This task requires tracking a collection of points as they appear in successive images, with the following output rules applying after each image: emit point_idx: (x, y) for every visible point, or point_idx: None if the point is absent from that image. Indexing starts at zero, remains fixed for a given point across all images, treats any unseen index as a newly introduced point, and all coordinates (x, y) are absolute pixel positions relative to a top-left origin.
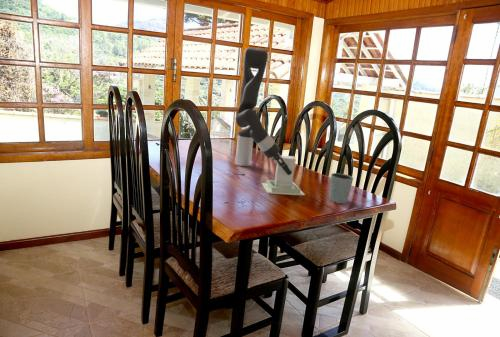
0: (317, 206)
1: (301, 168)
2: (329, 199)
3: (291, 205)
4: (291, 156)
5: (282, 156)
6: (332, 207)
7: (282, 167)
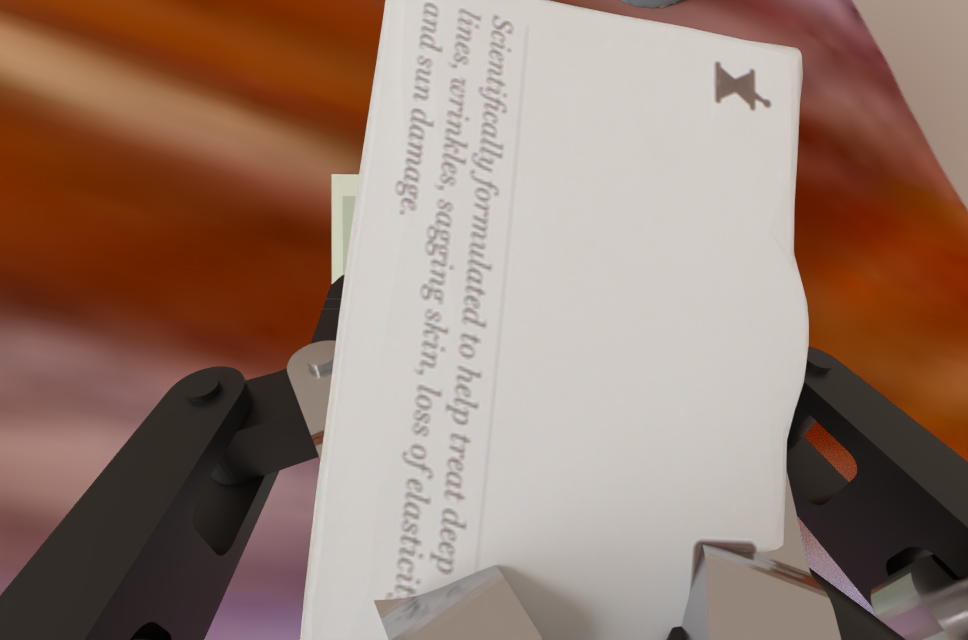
0: (813, 161)
1: None
2: (650, 5)
3: (846, 362)
4: (475, 80)
5: (569, 492)
6: (803, 55)
7: (825, 476)
